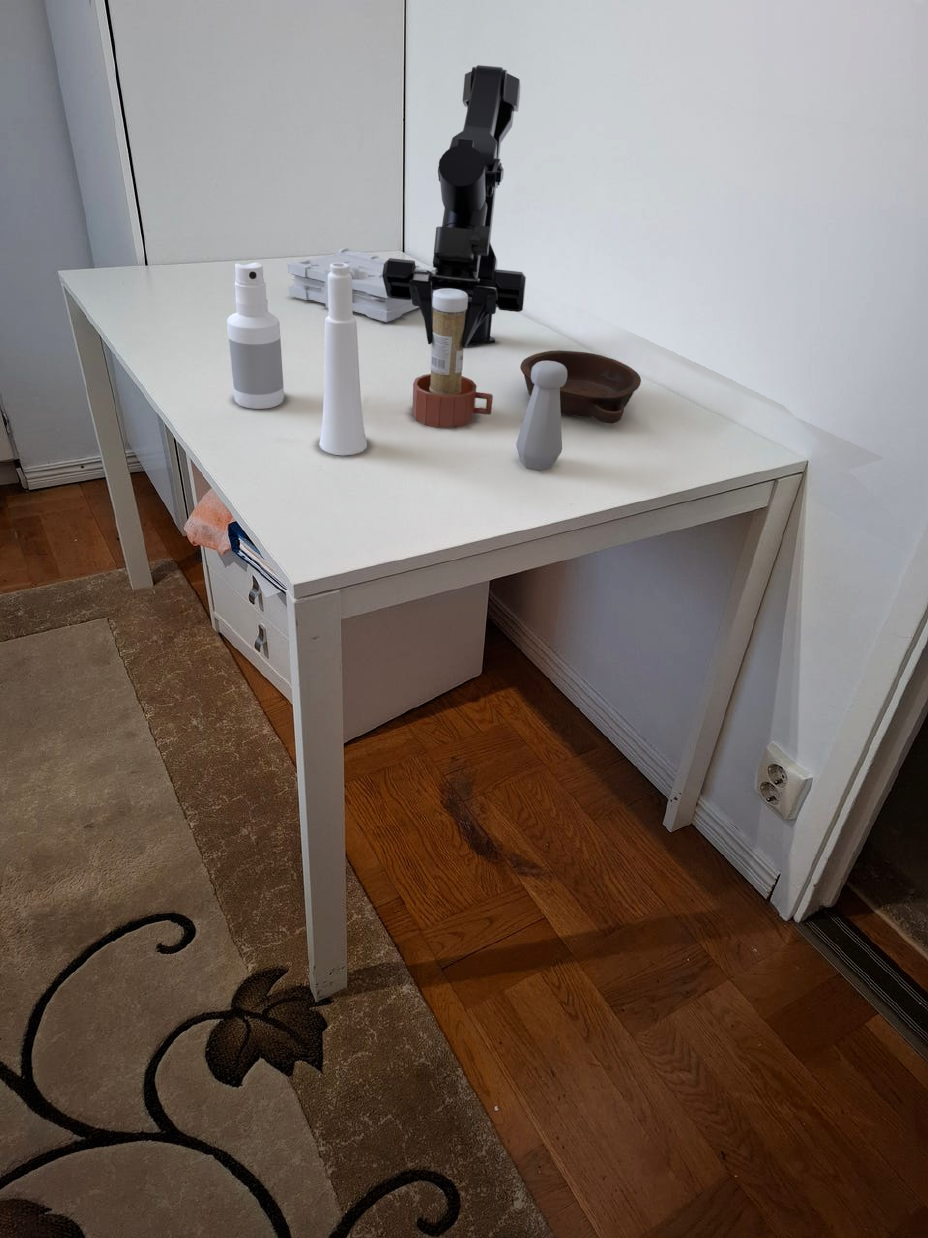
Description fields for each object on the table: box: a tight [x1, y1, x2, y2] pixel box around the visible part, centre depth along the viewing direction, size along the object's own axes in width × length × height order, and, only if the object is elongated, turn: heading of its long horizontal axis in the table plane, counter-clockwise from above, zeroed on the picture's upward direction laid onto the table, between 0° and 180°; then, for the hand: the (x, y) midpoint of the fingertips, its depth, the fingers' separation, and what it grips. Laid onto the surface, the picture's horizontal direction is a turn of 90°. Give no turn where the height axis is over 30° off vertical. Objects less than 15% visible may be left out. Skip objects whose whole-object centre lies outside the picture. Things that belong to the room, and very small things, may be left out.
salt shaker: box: [515, 361, 567, 472], centre depth 102 cm, size 6×6×13 cm
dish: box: [519, 349, 642, 424], centre depth 122 cm, size 17×22×5 cm
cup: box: [411, 373, 494, 429], centre depth 114 cm, size 11×9×4 cm
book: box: [287, 246, 436, 323], centre depth 155 cm, size 19×28×8 cm
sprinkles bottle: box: [429, 288, 468, 395], centre depth 110 cm, size 5×5×14 cm
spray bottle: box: [226, 261, 285, 410], centre depth 110 cm, size 7×7×18 cm
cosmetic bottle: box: [318, 263, 368, 456], centre depth 99 cm, size 6×6×22 cm
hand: (446, 344), depth 108 cm, fingers closed on sprinkles bottle, 4 cm apart
